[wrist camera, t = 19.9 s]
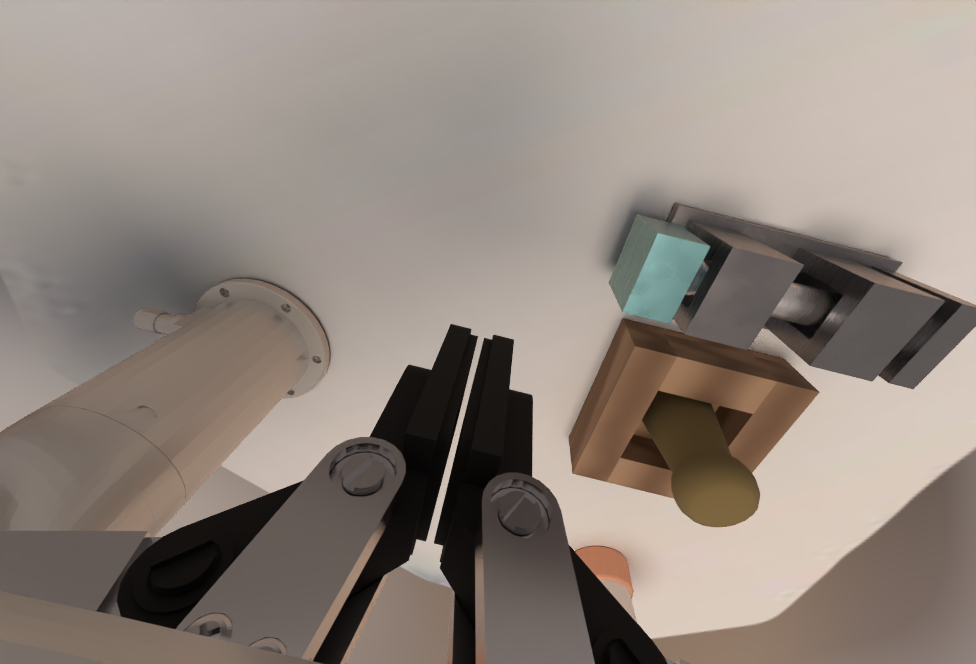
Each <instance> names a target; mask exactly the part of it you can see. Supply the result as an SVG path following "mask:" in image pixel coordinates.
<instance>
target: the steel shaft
mask: <svg viewBox="0 0 976 664" xmlns="http://www.w3.org/2000/svg"><path fill="white" fill-rule="evenodd" d="M710 247H711V246H709V245H708V244H706V243H705V242H704V241H702V240H701V239H699V238H698V237H696V236H695V235H694V234H692V233H691V232H689V231H688V230H686V229H685V228H684V227H682V226H681V225H677V224H673V223H670V222H666V221H662V220H658V219H654V218H650V217H646V216H642V215H638V214H637V215H636V217H635V220H634V222H633V225H632V227H631V230H630V232H629V235H628V237H627V239H626V242H625V244H624V247H623V249H622V252H621V254H620V256H619V259H618V261H617V264H616V266H615V269H614V271H613V274H612V276H611V278H610V281H609V284H610V286H611V288H612V291H613V293H614V295H615V297H616V299H617V301H618V303H619V306H620V308H621V310H622V312H624V313H628V314H632V315H636V316H640V317H644V318H648V319H652V320H656V321H660V322H663V323H667V324H670V323H671V321H672V319H673V317H674V315H675V313H676V311H677V309H678V307H679V306H680V304H681V302H682V300H683V298H684V296H685V295H687V296H691V297H694V295H695V293H696V291H697V289H698V287H699V286H700V284H701V282H702V280H703V278H704V276H705V274H706V273H707V271H708V269H709V267H710V265H711V263H712V262H711V261H707V260H704V258H705V256H706V254H707V252H708V250H709V249H710ZM842 297H843V295H841V294H838V293H834V292H830V291H826V290H822V289H818V288H814V287H810V286H806V285H802V284H798V283H794V282H793V283H792V284H791V286H790V287H789V289H788V290H787V292H786V293H785V295H784V296H783V298H782V299H781V301H780V302H779V304H778V305H777V307H776V308H775V310H774V311H773V313H772V314H771V317H774V318H778V319H782V320H786V321H790V322H794V323H798V324H802V325H806V326H810V327H814V328H818V329H819V327H820V326H821V325H822V323H823V322H824V321H825V319H826V318H827V317H828V315H829V314H830V313H831V311H832V310H833V309H834V307H835V306H836V305H837V303H838V302H839V301H840V299H841V298H842Z"/></svg>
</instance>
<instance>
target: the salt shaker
mask: <svg viewBox="0 0 976 664" xmlns="http://www.w3.org/2000/svg"><path fill="white" fill-rule="evenodd" d="M576 554H577V555H578V556H579V557H580V558H581V559H582V560H583V562H584V563H585V564H586V565H587V566H588V567H589V569H590V570H591V571H592V572H593V573H594V574H595V575H596V577H597V578H598V579H599V580H600V581H601V582H602V583H603V585H604V586H605V587H606V588H607V589H608V590H609V591H610V593H611V594H612V595H613V596H614V597H615V598H616V600H617V601H618V602H619V603H620V604H621V605H622V606H623V608H624V609H625V610H626V611H627V612H628V613H629V614H630V616H631V617H632V618H633V619H634V620H635V621H636V617H635V613H634V608H633V604H632V600H631V599H632V596H633V587H632V583H631V578H630V573H629V568H628V564H627V561H626V558H625V557H624V556H623V555H622V554H621V553H620V552H618V551H616V550H614V549H611V548H607V547H599V546H592V547H585V548H582V549H579V550H577V551H576ZM636 622H637V621H636Z"/></svg>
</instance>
